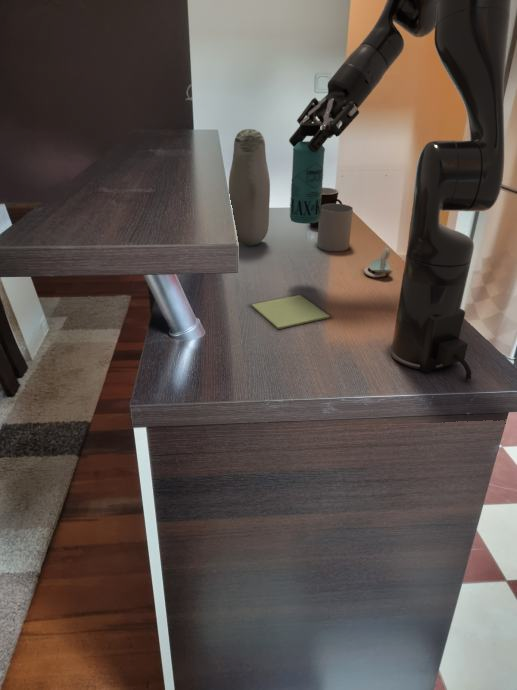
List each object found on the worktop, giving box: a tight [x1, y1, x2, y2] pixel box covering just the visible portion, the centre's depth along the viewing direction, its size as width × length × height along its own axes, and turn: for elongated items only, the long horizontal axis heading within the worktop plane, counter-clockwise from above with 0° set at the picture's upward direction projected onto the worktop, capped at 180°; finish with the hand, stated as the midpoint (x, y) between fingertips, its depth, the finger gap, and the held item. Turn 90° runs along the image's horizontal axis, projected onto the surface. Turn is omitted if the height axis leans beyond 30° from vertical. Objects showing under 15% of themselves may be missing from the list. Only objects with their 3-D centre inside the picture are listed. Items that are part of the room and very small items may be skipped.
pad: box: [251, 294, 330, 330], centre depth 99 cm, size 11×11×1 cm
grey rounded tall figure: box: [228, 128, 271, 246], centre depth 128 cm, size 10×10×28 cm
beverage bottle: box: [289, 122, 326, 225], centre depth 103 cm, size 6×7×20 cm
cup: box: [316, 203, 354, 252], centre depth 132 cm, size 8×8×10 cm
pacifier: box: [363, 246, 393, 278], centre depth 115 cm, size 7×6×6 cm
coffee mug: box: [309, 187, 343, 229], centre depth 147 cm, size 12×9×10 cm
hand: (301, 146), depth 99 cm, fingers closed on beverage bottle, 6 cm apart
